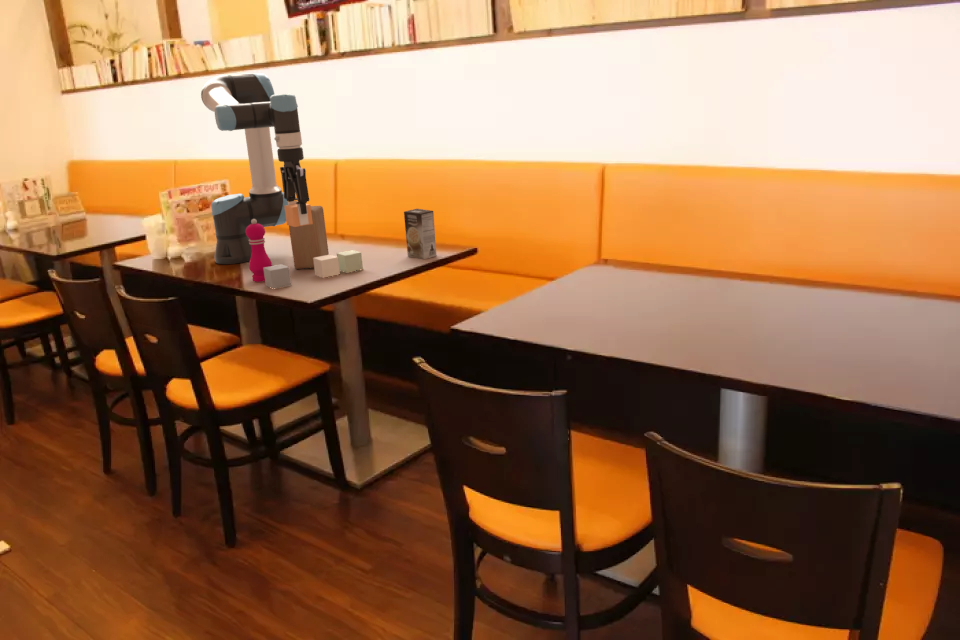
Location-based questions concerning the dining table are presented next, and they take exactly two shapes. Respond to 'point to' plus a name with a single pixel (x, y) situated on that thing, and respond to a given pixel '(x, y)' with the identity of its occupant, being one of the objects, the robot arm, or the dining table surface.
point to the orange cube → (296, 215)
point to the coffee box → (420, 233)
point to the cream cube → (326, 266)
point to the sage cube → (350, 261)
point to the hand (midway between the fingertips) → (299, 223)
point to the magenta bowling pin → (257, 251)
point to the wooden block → (309, 240)
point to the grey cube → (277, 276)
